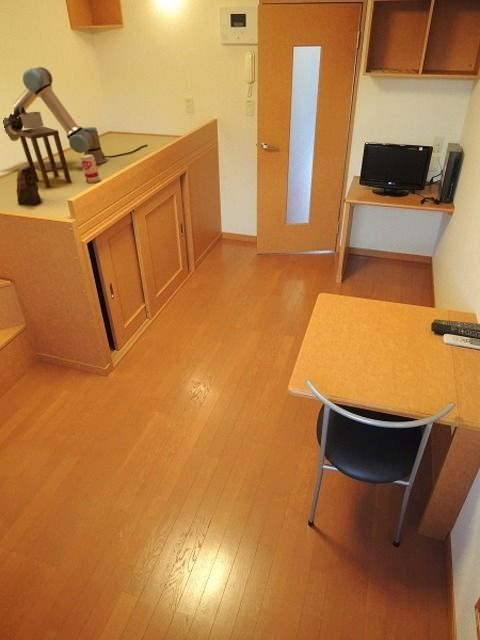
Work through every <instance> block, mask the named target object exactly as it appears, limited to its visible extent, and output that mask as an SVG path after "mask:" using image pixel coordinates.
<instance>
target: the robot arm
mask: <svg viewBox="0 0 480 640" xmlns="http://www.w3.org/2000/svg"><path fill="white" fill-rule="evenodd" d="M22 82H23V85H24V86H25V90H24V91H23V92H22V93H21V95H20V96H19V97H18V98H17V99H16V100H15V102H13V104H14V114H13V115H12V114H10V116H9V118H6V117H5V118H4V120H3V124H4V128H5V131H6V132H5V131H4V132H5V134H6V135H7V134H8V136H9V137H10V139H11V140H10V139H9V140H10V141H12V142H18V141H19V140H20V136H19V135H18V131H21V130H23V129H24V126H23V123H22V119H21V116H19V114H20V112H24V113H27V110H28V109H29V108H30V106H32V104H33V103H34V102H35V101H36V100H37V98H40V99H41V100H42V102H43V103H44V104H45V106H46V107H47V108H48V109H49V111H50V112H51V114H52V115H53V117H54V118H55V119H56V121H57V122H58V123H59V124H60V126H61V127H62V129H63V130H64V131H65V133H66V138H67V139H68V143H69V144H68V145H69V147H70V148H71V149H72V151H74V152H75V153H79V154H83V155H89V154H91V155H93V156H94V157H95V161H96V165H100V164H104V163H106V162H107V158H115V157H120V156H124V155H125V156H126V155H130V154H132V153H135V152H137V151H139V150H140V149H142V148H144V147H147V146H148V144H147V143H146V144H143V145H141V146H139V147H137V148H136V149H134V150H132V151H128V152H123V153H119V154H114V155H105V153H104V152H103V150H102V147H101V142H100V137H99V132H98V129H97V128H96V127H95V126H86V127H82V126H80V125H78V124H77V123H76V121H75V120H74V119H73V117H72V115H71V114H70V113H69V111H68V110H67V109H66V107H65V106H64V104H63V103H62V101H60V99H59V97H58V96H57V95H56V93H55V92H54V91H53V85H52V84H53V75H52V73H51V72H50V71H49V70H48V69H47V68H45V67H42V66H38V67H34V68H29V69H27V70H25V71H24V73H23V74H22ZM17 117H18V118H17Z"/></svg>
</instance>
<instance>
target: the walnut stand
mask: <svg viewBox="0 0 480 640" xmlns="http://www.w3.org/2000/svg"><path fill="white" fill-rule="evenodd" d="M18 135H19V136H20V138H19V140H20V143H21V145H22V148H23V153H24V155H25V158H26V161H27V164H28V165H30V166H31V168H32V169H33V170H32V171H33V175H34V176H35V179H36V182H37V183H38V182H40V180H39V176H38V173H37V171H38V172H39V173H40V174H41V177H42V181H43V183H44V186H45V188H46V189H49V188H51V187H52V185H51V183H50V179H49V176H48V173H51V172H52V175H53V177H54V178H58V177H60V175H59V172H58V171H59V170H60V171H61V170H62V171H63V176H64V180H65V182H66V183H67V184H69V183H72V178H71V175H70V172H69V171H70V170H69V167H68V164H67V161H66V157H65V156H66V155H65V152H64V149H63V146H62V142H61V139H60V133H59V130H57V129H53V128H51V127H47V126H45V125H44V126H42V127H38V128H26V129H22V130H21V131H18ZM51 136H53V139H54V142H55V146H56V150H57V154H58V157H59V161H60V163H57V162H55V161H56V160H55V157H54V154H53V150H52V147H51V144H50V140H49V137H51ZM26 138H27V139H30V141H31V145H32V148H33V151H34V154H35V158H36V161H37V164H35V163H34V160H33V158H32V154H31V151H30V148H29V144H28V141H27V139H26ZM41 138H42V140H43V144H44V147H45V150H46V154H47V157H48V162H44V159H43V156H42V153H41V149H40V146H39V142H38V139H41Z"/></svg>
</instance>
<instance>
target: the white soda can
mask: <svg viewBox="0 0 480 640" xmlns="http://www.w3.org/2000/svg"><path fill="white" fill-rule="evenodd" d="M80 162H81V165H82V170H83V174H84V177H85V182H87V183H89V184H92V183H97V182H99V181H100V180H101V179H100V175H99V170H98V166H97V164H96V161H95V157H94V156H93V155H91V154H89V155H84V154H83V155H81V156H80Z"/></svg>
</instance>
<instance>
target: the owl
mask: <svg viewBox="0 0 480 640" xmlns="http://www.w3.org/2000/svg"><path fill="white" fill-rule="evenodd" d="M32 170H33V169H32V168H31V166H30V165H29V164H28V162H24V164H22V165H21V166H20V167H19V170H17V171H18V172H17V175H16V177H17V178H16V198H17V199H16V201H17V204H18V205H21V206H32V207H33V206H37V205H39V204H41V203H42V201H41V200H42V199H41V196H40V193H39V190H40V189H39V186H38V182H36V179H35V176H34V175H33V171H32Z"/></svg>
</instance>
